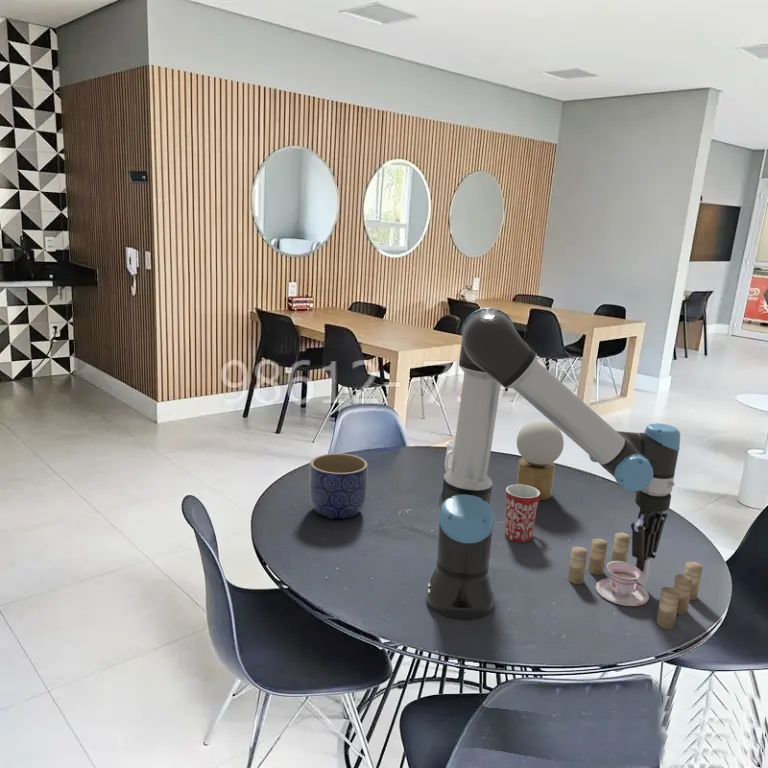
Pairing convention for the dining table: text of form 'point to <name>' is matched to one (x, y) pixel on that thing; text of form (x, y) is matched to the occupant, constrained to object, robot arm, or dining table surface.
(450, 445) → the cup
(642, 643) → the dining table surface
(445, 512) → the robot arm
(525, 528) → the mug
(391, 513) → the dining table surface
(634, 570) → the teacup
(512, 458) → the dining table surface
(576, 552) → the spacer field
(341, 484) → the planter
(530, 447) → the lamp
